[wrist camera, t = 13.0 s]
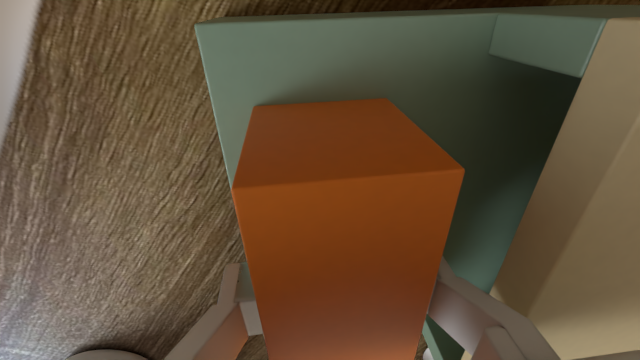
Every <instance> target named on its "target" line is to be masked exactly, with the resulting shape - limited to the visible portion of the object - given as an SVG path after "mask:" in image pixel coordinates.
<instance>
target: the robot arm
mask: <svg viewBox="0 0 640 360" xmlns="http://www.w3.org/2000/svg"><path fill="white" fill-rule="evenodd" d="M427 314H428V316H429V317H431V318H432V319H433V320H434V321H435V322H436V323H437V324H438V325H439V326H440V327H441V328H442V329H444V330H445V331H446V332H447V333H448V334H449V335H450V336H451V337H452V338H453V339H454V340H455V341H457V342H458V343H459V344H460V345H461V346H462V347H463V348H464V349H465V350H466V351H467V352H468V353H470V354H471V355H472V358H471V360H561V359H560V357H559V356H558V355H557V353H556V352H555V351H554V350H553V348H552V347H551V346H550V345H549V343H548V342H547V341H546V339H545V338H544V337H543V336H542V334H541V333H540V332H539V330H538V329H537V328H536V327H535V325H534V324H533V323H532V321H531V320H529V319H528V318H526V317H524V316H523V315H521V314H520V313H518V312H516V311H515V310H513V309H512V308H510V307H508V306H507V305H505V304H504V303H502V302H500V301H499V300H497V299H496V298H494V297H492V296H491V295H489V294H488V293H486V292H484V291H483V290H481V289H480V288H478V287H476V286H475V285H473V284H471V283H470V282H468V281H467V280H465V279H463V278H462V277H456V275H455V274H454V272H453V271H452V269H451V268H450V266H449V264H448V263H447V261H446V260H445V258H444V257H443V255H442V259H441V262H440V266H439V270H438V274H437V277H436V281H435V285H434V288H433V292H432V296H431V300H430V303H429V307H428V311H427ZM258 334H263V330H262V326H261V321H260V317H259V313H258V308H257V304H256V299H255V295H254V290H253V286H252V281H251V277H250V273H249V268H248V264H247V262H243V263H233V264H227V265H226V266H225V269H224V273H223V278H222V283H221V287H220V292H219V297H218V301H217V305H212V306H211V307H210V308H209V309H208V311H207V312H206V313H205V314H204V315H203V316H202V317H201V318H200V319H199V321H198V322H197V323H196V324H195V325H194V326H193V327H192V328H191V329H190V330H189V332H188V333H187V334H186V335H185V336H184V337H183V338H182V339H181V340H180V342H179V343H178V344H177V345H176V346H175V347H174V348H173V349H172V350H171V352H170V353H169V354H168V355H167V356H166V357H165V358H164V359H163V360H235V359H236V357H237V356H238V354H239V352H240V351H241V349H242V347H243V346H244V344H245V343H246V341H247V339H248V336H252V335H258ZM572 360H640V350H634V351H627V352H620V353H613V354H606V355H599V356H592V357H585V358H578V359H572Z"/></svg>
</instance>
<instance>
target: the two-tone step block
mask: <svg viewBox="0 0 640 360" xmlns="http://www.w3.org/2000/svg"><path fill="white" fill-rule="evenodd" d="M194 27H195V32H196V36H197V41H198V45H199V50H200V54H201V59H202V63H203V68H204V72H205V76H206V81H207V85H208V90H209V94H210V99H211V103H212V108H213V112H214V117H215V121H216V126H217V130H218V135H219V139H220V144H221V148H222V153H223V157H224V162H225V166H226V171H227V175H228V180H229V184H230V189H232V185H233V181H234V177H235V173H236V170H237V166H238V162H239V158H240V155H241V151H242V147H243V143H244V140H245V136H246V132H247V128H248V124H249V121H250V117H251V113H252V109H253V107H254V106H265V105H281V104H298V103H314V102H330V101H347V100H363V99H379V98H387V99H388V100H389V101H390V102H391V103H393V104H394V105H395V106H396V107H397V108H398V109H399V110H400V111H401V112H402V113H403V114H405V115H406V116H407V117H408V118H409V119H410V120H411V121H412V122H413V123H414V124H416V125H417V126H418V127H419V128H420V129H421V130H422V131H423V132H424V133H425V134H427V135H428V136H429V137H430V138H431V139H432V140H433V141H434V142H435V143H436V144H438V145H439V146H440V147H441V148H442V149H443V150H444V151H445V152H446V153H447V154H449V155H450V156H451V157H452V158H453V159H454V160H455V161H456V162H457V163H458V164H460V165H461V166H462V167H463V168H464V170H465V173H464V177H463V181H462V184H461V188H460V192H459V196H458V199H457V203H456V207H455V210H454V214H453V218H452V222H451V225H450V229H449V233H448V236H447V240H446V244H445V248H444V251H443V257H444V258H445V260H446V261H447V263H448V264H449V266H450V268H451V269H452V271H453V272H454V274H455V275H456V277H462V278H463V279H465V280H467V281H468V282H470V283H471V284H473V285H475V286H476V287H478V288H480V289H481V290H483V291H484V292H486V293H488V294H489V295H491V296H492V297H494V298H496V299H497V300H499V301H500V302H502V303H504V304H505V305H507V306H508V307H510V308H512V309H513V310H515V311H516V312H518V313H520V314H521V315H523V316H524V317H526V318H528V319H529V320H531V321H532V323H533V324H534V325H535V327H536V328H537V329H538V330H539V332H540V333H541V334H542V336H543V337H544V338H545V339H546V341H547V342H548V343H549V345H550V346H551V347H552V348H553V350H554V351H555V352H556V353H557V355H558V356H559V357H560V359H561V360H572V359H578V358H585V357H592V356H599V355H606V354H613V353H620V352H627V351H634V350H640V5H563V6H533V7H504V8H474V9H445V10H415V11H386V12H356V13H326V14H297V15H267V16H238V17H219V18H214V19H210V20H207V21H203V22H199V23H196V24H195V26H194ZM235 211H236V210H235ZM237 220H238V219H237ZM239 229H240V228H239ZM241 238H242V237H241ZM243 247H244V246H243ZM244 251H245V250H244ZM245 256H246V255H245ZM246 260H247V259H246ZM422 334H423V336H424V338H425V341H426V343H427V345H428V348H429V350H430V352H431V355H432V357H433V359H434V360H471V358H472V355H471V354H470V353H468V352H467V351H466V350H465V349H464V348H463V347H462V346H461V345H460V344H459V343H458V342H457V341H455V340H454V339H453V338H452V337H451V336H450V335H449V334H448V333H447V332H446V331H445V330H444V329H442V328H441V327H440V326H439V325H438V324H437V323H436V322H435V321H434V320H433V319H432V318H431V317H429V316H428V314H426V318H425V322H424V326H423V329H422ZM263 336H264V335H263ZM264 341H265V339H264Z"/></svg>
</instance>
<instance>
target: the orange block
mask: <svg viewBox="0 0 640 360" xmlns="http://www.w3.org/2000/svg"><path fill="white" fill-rule="evenodd" d="M464 173H465V170H464V168H463V167H462V166H461V165H460V164H458V163H457V162H456V161H455V160H454V159H453V158H452V157H451V156H450V155H449V154H447V153H446V152H445V151H444V150H443V149H442V148H441V147H440V146H439V145H438V144H436V143H435V142H434V141H433V140H432V139H431V138H430V137H429V136H428V135H427V134H425V133H424V132H423V131H422V130H421V129H420V128H419V127H418V126H417V125H416V124H414V123H413V122H412V121H411V120H410V119H409V118H408V117H407V116H406V115H405V114H403V113H402V112H401V111H400V110H399V109H398V108H397V107H396V106H395V105H394V104H393V103H391V102H390V101H389V100H388V99H387V98H379V99H363V100H347V101H330V102H314V103H298V104H281V105H265V106H254V107H253V109H252V113H251V117H250V121H249V124H248V128H247V132H246V136H245V140H244V143H243V147H242V151H241V155H240V158H239V162H238V166H237V170H236V173H235V177H234V181H233V185H232V189H231V193H232V197H233V202H234V206H235V210H236V215H237V219H238V224H239V228H240V233H241V237H242V242H243V246H244V250H245V255H246V259H247V264H248V268H249V273H250V277H251V281H252V286H253V290H254V295H255V299H256V304H257V308H258V313H259V317H260V321H261V326H262V330H263V335H264V339H265V344H266V348H267V352H268V357H269V360H414V359H415V355H416V351H417V348H418V344H419V340H420V337H421V333H422V329H423V326H424V322H425V318H426V314H427V311H428V307H429V303H430V300H431V296H432V292H433V288H434V285H435V281H436V277H437V274H438V270H439V266H440V262H441V259H442V255H443V251H444V248H445V244H446V240H447V236H448V233H449V229H450V225H451V222H452V218H453V214H454V210H455V207H456V203H457V199H458V196H459V192H460V188H461V184H462V181H463V177H464Z"/></svg>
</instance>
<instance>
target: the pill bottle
mask: <svg viewBox="0 0 640 360" xmlns="http://www.w3.org/2000/svg"><path fill="white" fill-rule="evenodd" d="M65 360H148V359H146V358H144V357H142V356H140V355H137V354H134V353H131V352H127V351H121V350H111V349H102V350H92V351H86V352H82V353H79V354H76V355H73V356H71V357H69V358H67V359H65Z"/></svg>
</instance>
